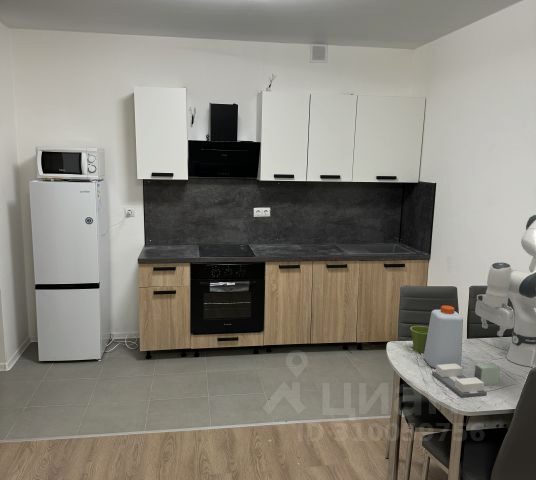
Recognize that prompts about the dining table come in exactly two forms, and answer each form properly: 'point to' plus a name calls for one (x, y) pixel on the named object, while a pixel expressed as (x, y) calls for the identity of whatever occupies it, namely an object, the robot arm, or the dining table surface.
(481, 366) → the block
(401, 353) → the dining table surface
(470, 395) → the board
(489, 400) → the dining table surface
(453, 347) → the plastic bottle
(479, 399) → the dining table surface
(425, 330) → the plant pot
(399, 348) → the dining table surface
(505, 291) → the robot arm
